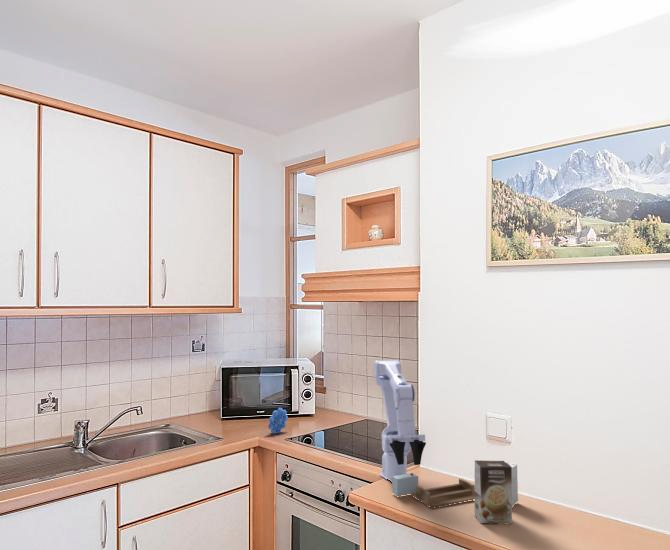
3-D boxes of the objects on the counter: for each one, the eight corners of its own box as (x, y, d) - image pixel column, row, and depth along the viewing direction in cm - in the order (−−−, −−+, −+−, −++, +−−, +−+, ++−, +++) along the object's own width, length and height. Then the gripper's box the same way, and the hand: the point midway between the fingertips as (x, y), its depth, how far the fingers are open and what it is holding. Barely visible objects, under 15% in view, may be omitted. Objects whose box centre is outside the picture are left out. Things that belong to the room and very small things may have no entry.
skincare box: (505, 500, 163) (504, 461, 164) (518, 503, 160) (517, 464, 161) (497, 505, 158) (497, 466, 159) (511, 509, 155) (510, 469, 156)
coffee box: (480, 524, 145) (480, 467, 145) (474, 515, 151) (473, 460, 152) (512, 524, 145) (512, 466, 146) (504, 515, 151) (503, 459, 152)
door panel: (392, 494, 167) (392, 474, 168) (413, 491, 170) (413, 471, 171) (397, 498, 164) (397, 477, 165) (418, 494, 168) (418, 474, 168)
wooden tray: (412, 496, 166) (412, 483, 166) (457, 488, 173) (457, 476, 173) (431, 509, 155) (431, 495, 156) (478, 500, 163) (478, 487, 163)
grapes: (281, 429, 253) (281, 405, 254) (290, 432, 248) (290, 407, 249) (262, 433, 245) (263, 408, 245) (271, 436, 240) (272, 410, 240)
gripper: (382, 422, 174) (384, 465, 170) (413, 420, 163) (416, 465, 159) (397, 422, 178) (400, 463, 174) (428, 420, 167) (431, 464, 163)
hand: (408, 464), depth 166 cm, fingers open, 7 cm apart
